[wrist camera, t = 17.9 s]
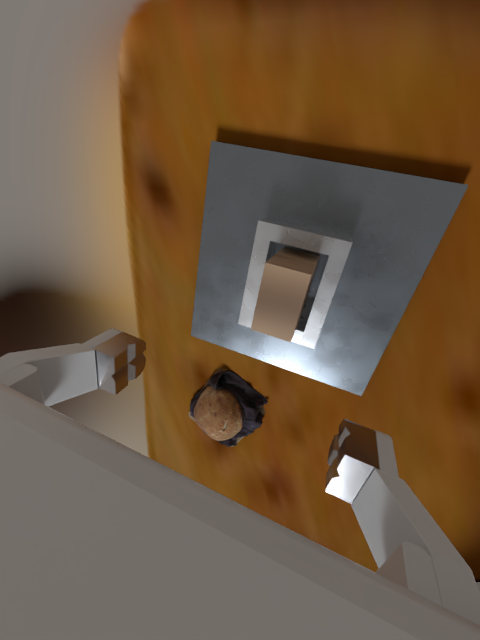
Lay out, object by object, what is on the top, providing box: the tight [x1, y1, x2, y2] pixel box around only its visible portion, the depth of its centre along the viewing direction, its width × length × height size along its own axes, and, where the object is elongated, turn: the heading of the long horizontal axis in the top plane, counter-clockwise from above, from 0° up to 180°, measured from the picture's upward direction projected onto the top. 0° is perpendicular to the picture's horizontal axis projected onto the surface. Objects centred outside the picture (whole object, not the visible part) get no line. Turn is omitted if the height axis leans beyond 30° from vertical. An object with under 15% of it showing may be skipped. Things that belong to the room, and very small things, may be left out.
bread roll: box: [189, 368, 268, 447], centre depth 33 cm, size 11×8×4 cm
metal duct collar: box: [191, 141, 468, 396], centre depth 23 cm, size 18×18×4 cm
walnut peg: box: [251, 247, 320, 342], centre depth 21 cm, size 5×3×6 cm, turn 170°
